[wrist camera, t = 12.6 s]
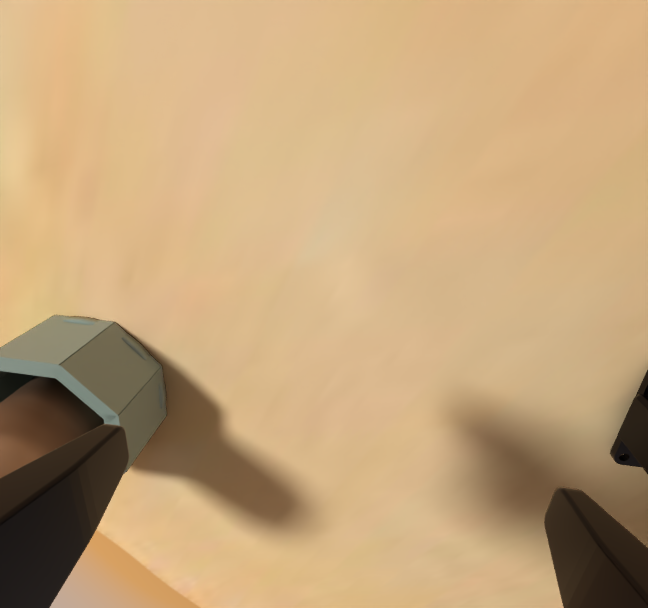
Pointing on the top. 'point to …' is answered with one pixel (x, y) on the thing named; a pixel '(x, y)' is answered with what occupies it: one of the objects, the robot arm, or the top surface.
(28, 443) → the pepper mill
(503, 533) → the top surface
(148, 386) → the pot
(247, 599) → the top surface
